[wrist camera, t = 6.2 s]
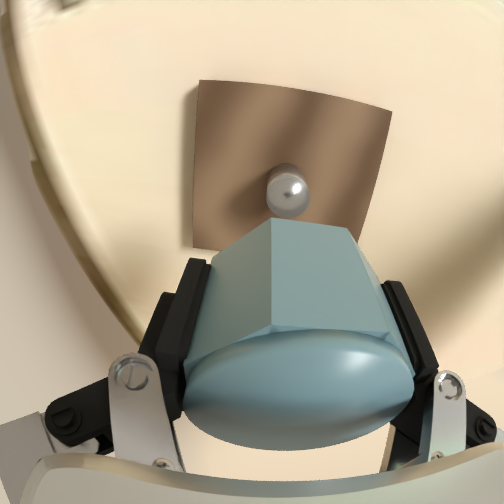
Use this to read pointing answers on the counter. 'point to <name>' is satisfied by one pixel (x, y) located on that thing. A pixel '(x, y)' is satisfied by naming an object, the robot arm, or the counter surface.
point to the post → (287, 191)
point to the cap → (294, 342)
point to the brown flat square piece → (281, 157)
